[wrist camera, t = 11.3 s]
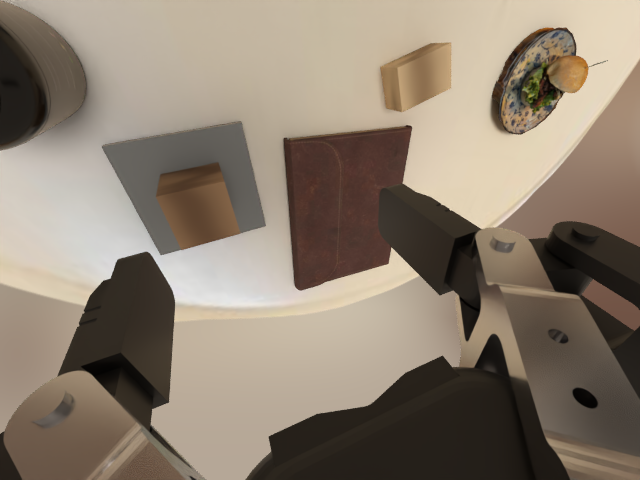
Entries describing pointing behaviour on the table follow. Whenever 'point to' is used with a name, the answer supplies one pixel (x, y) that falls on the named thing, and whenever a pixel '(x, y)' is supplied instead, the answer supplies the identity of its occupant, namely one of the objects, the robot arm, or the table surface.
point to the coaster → (178, 154)
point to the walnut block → (197, 205)
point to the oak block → (417, 76)
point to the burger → (538, 78)
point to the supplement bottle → (34, 77)
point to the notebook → (340, 200)
